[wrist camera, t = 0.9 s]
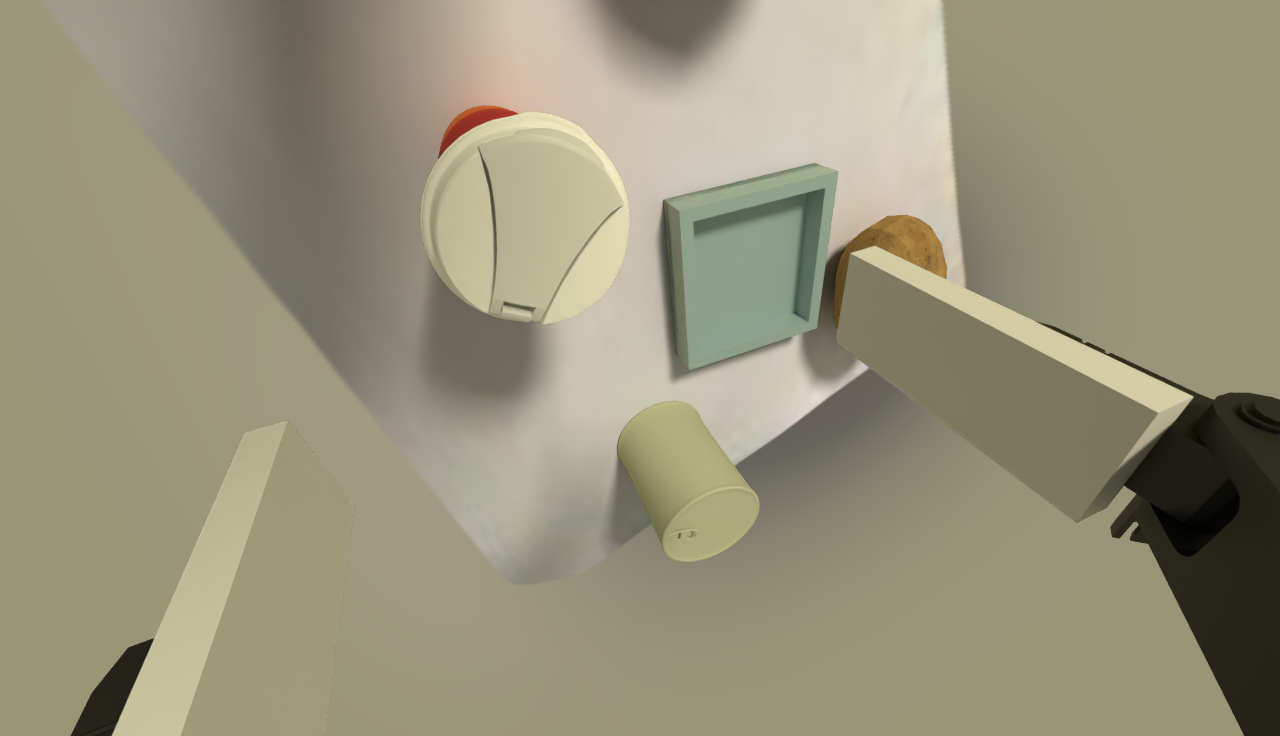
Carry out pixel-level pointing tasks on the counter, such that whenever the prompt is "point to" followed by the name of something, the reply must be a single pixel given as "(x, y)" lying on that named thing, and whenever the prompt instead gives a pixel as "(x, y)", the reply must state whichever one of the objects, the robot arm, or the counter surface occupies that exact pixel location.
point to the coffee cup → (524, 215)
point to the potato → (894, 249)
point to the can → (686, 482)
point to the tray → (748, 261)
